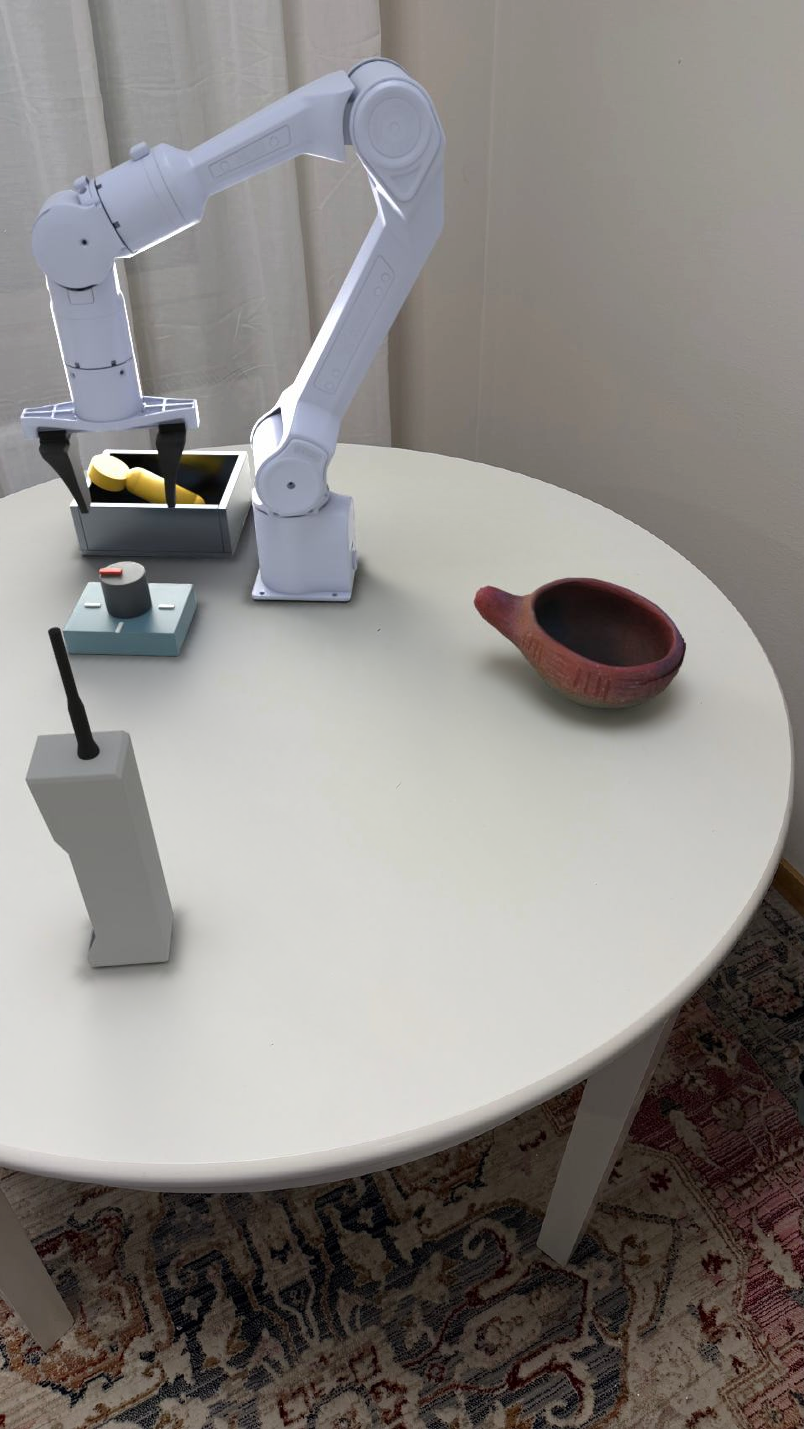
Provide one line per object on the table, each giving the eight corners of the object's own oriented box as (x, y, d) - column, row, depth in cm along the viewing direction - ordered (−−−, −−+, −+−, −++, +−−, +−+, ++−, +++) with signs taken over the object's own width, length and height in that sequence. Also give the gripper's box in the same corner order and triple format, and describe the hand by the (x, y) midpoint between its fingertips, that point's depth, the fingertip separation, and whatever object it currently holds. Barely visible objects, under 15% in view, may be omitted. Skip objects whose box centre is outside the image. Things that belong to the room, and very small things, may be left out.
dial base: (197, 605, 96) (193, 581, 94) (178, 657, 89) (173, 632, 88) (94, 603, 96) (88, 579, 94) (67, 654, 90) (60, 630, 88)
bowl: (638, 632, 91) (651, 556, 86) (697, 722, 82) (716, 642, 77) (467, 655, 89) (470, 578, 84) (507, 750, 79) (513, 670, 74)
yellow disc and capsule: (203, 514, 109) (213, 493, 107) (196, 532, 106) (205, 512, 104) (93, 461, 106) (101, 439, 104) (82, 479, 103) (90, 457, 101)
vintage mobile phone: (98, 922, 67) (-2, 610, 51) (174, 917, 67) (98, 604, 51) (90, 969, 64) (-20, 654, 48) (169, 963, 64) (87, 648, 48)
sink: (253, 498, 112) (247, 451, 108) (232, 558, 102) (225, 508, 98) (114, 496, 112) (104, 449, 109) (81, 555, 103) (69, 506, 99)
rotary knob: (156, 594, 92) (149, 558, 90) (145, 619, 89) (138, 583, 87) (113, 593, 93) (105, 557, 90) (101, 618, 90) (92, 582, 87)
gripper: (190, 335, 86) (211, 480, 95) (16, 343, 85) (54, 490, 94) (186, 365, 81) (209, 516, 90) (1, 375, 80) (42, 527, 88)
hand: (129, 505), depth 91 cm, fingers open, 7 cm apart
